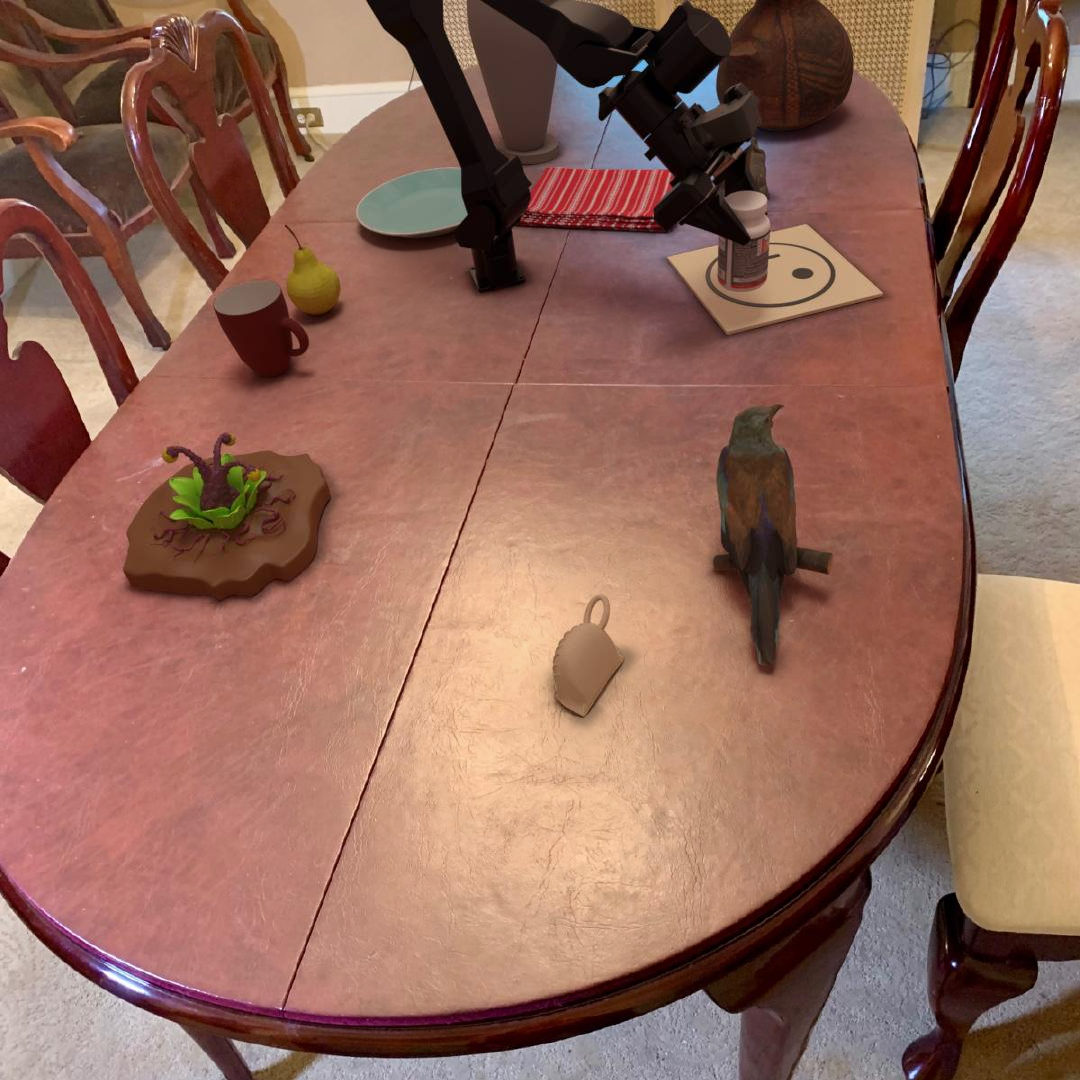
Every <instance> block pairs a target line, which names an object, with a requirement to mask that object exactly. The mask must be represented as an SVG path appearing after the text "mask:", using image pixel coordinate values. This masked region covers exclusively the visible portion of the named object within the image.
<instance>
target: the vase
mask: <svg viewBox="0 0 1080 1080" xmlns="http://www.w3.org/2000/svg"><path fill="white" fill-rule="evenodd" d="M466 19H467V27H468V33H469V38H470V40H471V45H472V48H473V50H474V54H475V57H476V60H477V63H478V66H479V69H480V70H479V71H480V72H481V76H482V80H483V84H484V86H485V89H486V93H487V96H488V100H489V103H490V106H491V109H492V113H493V115H494V118H495V121H496V124H497V126H498V129H499V132H500V135H501V138H499V140H498V141H497V149H498V150H499V151H500V152H501V153H502V154H503V155H505V156H506V157H507V158H508V159H511V158H512V157H514V156H518V157H519V159H520V160H521V163H522V165H537V164H542V163H547V162H549V161H551V160H554V158H556V157H557V156H558V155H559V141H558V139H557V138H556V137H555V136H553V135H552V134H549V133H548V129H549V128H548V127H549V123H550V115H551V110H552V103H553V97H554V96H553V95H554V90H555V83H556V77H557V72H558V71H557V70H558V65H559V64H558V63H557V62H556V60H555V59H554V57H553V55H552V53H551V52H550V50H549V48H548V47H547V46H546V45H545V44H544V43H543V42H542V41H541V40H540V39H539V38H537V37H536V36H534V35H533V34H531V33H530V32H528V31H526V30H525V29H523V28H522V27H520V26H519V25H517V24H516V23H514V22H513V21H511V20H509V19H508V18H506V17H505V16H503V15H502V14H500V13H499V12H497V11H496V10H494V9H492V8H491V7H489V6H488V5H486V4H485V3H483V2H482V1H480V0H466Z"/></svg>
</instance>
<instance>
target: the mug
mask: <svg viewBox="0 0 1080 1080" xmlns="http://www.w3.org/2000/svg"><path fill="white" fill-rule="evenodd" d="M212 306H213V310H214V312H215V316H216V318H217V320H218V323H219V325H220V327H221V329H222V331H223V333H224V334H225V336H226V337H227V339H228V341H229V342H230V344H231V346H232V347H233V349H234V350H235V352H236V354H237V355H238V357H239V358H240V360H241V361H242V362H243V363H244V364H245V365H246V366H247V367H248V368H249V369H251V370H252V371H253V372H254V373H255V374H257V375H259V376H260V377H263V378H273V377H278V376H281V375H282V374H284V373H285V372H286V371H288V369H289V368H290V364H291V360H292V358H295V357H296V358H297V357H300V356H302V355H304V354H305V353H306V352H307V351H308V350H309V347H310V339H309V336H308V333H307V332H306V330H305V328H304V327H303V326H302V325H301V324H300V323H299V322H298V321H297V320H295V319H293V318H291V317H290V313H289V308H288V304H287V302H286V299H285V295H284V293H283V290H282V287H281V286H280V285H279V284H278V283H277V282H275V281H272V280H270V279H269V280H268V279H253V280H246V281H243V282H240V283H236V284H233V285H232V286H230V287H227V288H226V289H224V290H222V291H221V292H220V293H219V294H218V295H217V296H216V297H215V298H214V301H213V305H212ZM293 335H294V336H295V337H296V339H297V342H298V345H299V348H294V342H293Z"/></svg>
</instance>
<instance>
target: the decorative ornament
mask: <svg viewBox="0 0 1080 1080" xmlns="http://www.w3.org/2000/svg"><path fill="white" fill-rule="evenodd" d="M599 601H601V602H602V605H603V611H602V615H601V618H600V621H599V623H593V622H591V621H592V620H591V618H592V612H593V609H594V608H595V605H596V604H597V603H598V602H599ZM583 614H584V615H583V620H582V621H583V622H581V623H579V624H578V625H576V624H575V625H574V626H572V627H571V628H570V630H567V631H566V632H564V634H563V637H562V638H560V640H558V644H557V647H556V648H555V651H554V655H553V658H552V663H553V665H552V673H553V680H554V682H555V683H556V684H555V686H554V691H555V692H556V694H555V697H556V699H557V700H558V701H559V702H560V703H561V704H562V705H563V707H565V708H567V710H570V711H572V712H573V713H575V714H577V715H578V716H581V717H583V718H585V716H586V715H587V714H588V712H589V711H590V709H591V708H592V706H593V704H594V703H595V702H596V700H597V698H598V696H599V695H600V693H601V692H602V690H603V688H604V687H605V686H606V684H607V682H608V681H609V680H610V678H611V677H612V676H613V674H614V673H615V672H616V670H617V669H618V668H619V667H620V666H621V665H622V663H623V662H624V661H625V657H624V655H622V654H621V653H620V652H618V650H617V648H616V645H615V644H614V641H613V639H612V638H611V637H610V635H609V634H608V633H607V631H606V630H605V629H606V627H607V626H608V623H609V620H610V615H611V603H610V600H609V598H608V597H607V595H605V594H603V593H599V594H596V595H594V596H593V597H591V598H590V600H589V601H588V603H587V605H586V607H585V610H584V613H583Z"/></svg>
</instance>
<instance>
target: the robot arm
mask: <svg viewBox="0 0 1080 1080" xmlns="http://www.w3.org/2000/svg"><path fill="white" fill-rule="evenodd" d="M365 1H366V3H367V5H368V7H369V8H370V10H371V12H372V13H373V15H374V16H375V18H376V20H377V21H378V23H379V25H380V26H381V27H382V29H383V31H385V32H386V33H388V34H389V35H390V36H391V37H392V38H393V39H395V40H396V41H397V42H398V43H399V44H400V45H402V46H403V47H404V49H405V50H406V52H407V54H408V56H409V58H410V61H411V63H412V64H413V68H415V72H416V73H417V75H418V78H419V81H420V82H421V84H422V86H423V89H424V91H425V93H426V95H427V97H428V99H429V102H430V104H431V107H432V108H433V110H434V113H435V114H436V117H437V119H438V121H439V123H440V125H441V128H442V130H443V132H444V134H445V136H446V138H447V140H448V143H449V145H450V147H451V149H452V152H453V154H454V156H455V158H456V161H457V162H458V164H459V165H458V166H459V168H461V196H462V199H463V202H464V205H465V208H466V212H467V216H466V217H465V218H464V219H463V221H462V222H461V223H460V224H459V225H458V227H457V228H456V229H455V230H454V231H452V233H453V234H452V235H453V236H454V238H455V241H456V242H457V245H458V246H459V247H460V248H464V249H470V250H471V256H472V257H471V258H472V262H473V266H471V267H469V275H470V276H471V278H472V281H473V282H474V285H475V287H476V289H477V291H478V292H479V293H484V292H489V291H493V290H497V289H500V288H506V287H509V286H510V287H511V286H513V285H518V284H522V283H525V282H526V276H525V274H524V273H523V271H522V269H521V267H520V265H519V263H518V261H517V255H516V248H515V247H516V246H515V240H514V232H513V229H514V228H515V227H516V226H517V225H516V224H517V223H519V222H520V221H521V218H522V214H523V213H524V212H525V211H526V210H527V208H528V206H529V203H530V200H531V193H530V192H531V190H530V188H531V186H532V185H533V184H532V182H531V181H530V180H529V178H528V176H527V174H526V173H525V171H524V167H523V164H522V163H521V160H520V159H519V157H518V156H514V157H512V158H511V159H508V158H507V157H506V156H505V155H503V154H502V153H501V152H500V151H499V149H498V147H496V145H495V142H494V141H493V138H492V135H491V133H490V130H489V128H488V127H487V124H486V122H485V120H484V117H483V115H482V113H481V110H480V108H479V106H478V104H477V101H476V99H475V96H474V94H473V92H472V90H471V87H470V85H469V82H468V80H467V78H466V75H465V74H464V71H463V69H462V67H461V65H460V62H459V59H458V58H457V55H456V53H455V51H454V49H453V46H452V43H451V42H450V39H449V37H448V35H447V33H446V30H445V22H444V21H445V20H444V0H365ZM480 1H482V2H483V3H485V4H486V5H488V6H489V7H491V8H492V9H494V10H496V11H497V12H499V13H500V14H502V15H503V16H505V17H506V18H508V19H509V20H511V21H513V22H514V23H516V24H517V25H519V26H520V27H522V28H523V29H525V30H526V31H528V32H530V33H531V34H533V35H534V36H536V37H537V38H539V39H540V40H541V41H542V42H543V43H544V44H545V45H546V46H547V47H548V48H549V50H550V52H551V53H552V55H553V57H554V59H555V60H556V62H557V63H558V64H557V65H558V66H559V67H561V68H562V69H563V70H564V71H565V72H566V73H567V74H568V75H569V76H571V77H572V78H573V79H574V80H575V81H576V82H577V83H578V84H580V85H581V86H583V87H586V88H588V89H596V88H599V87H603V86H605V85H606V84H607V83H609V82H610V81H611V80H613V79H614V78H616V77H621V76H623V77H622V78H621V79H620V80H619V82H617V84H615V86H606V87H605V88H602V90H601V91H600V92H599V93H598V94H597V97H598V104H599V105H598V113H597V114H598V115H597V118H598V120H599V121H600V122H602V121H603V122H604V121H605V120H606V119H607V118H608V117H609V116H610V115H611V114H612V113H613V112H615V111H616V112H617V113H618V114H619V115H620V116H621V118H622V119H623V120H624V121H625V122H626V123H627V125H628V126H629V127H630V128H631V129H632V130H633V131H634V132H635V134H636V135H637V136H638V138H640V140H641V141H643V143H644V145H646V146H647V147H648V149H647V150H646V151H645V153H643V155H644V156H645V158H646V159H647V160H648V161H649V162H652V160H654V159H655V157H656V158H657V159H658V160H659V162H661V164H662V165H663V166H664V167H665V169H666V170H669V172H670V173H671V174H672V175H673V176H674V178H673V179H672V180H671V181H670V182H669V184H670V185H671V186H672V187H673V188H672V189H671V190H670V191H669V192H667V193H666V194H665V195H664V197H663V198H662V199H661V200H660V201H659V202H658V204H657V205H656V206H655V207H654V221H655V222H656V223H657V224H658V225H659V226H660V227H661V229H662V230H663V231H664V232H663V233H667V232H669V231H671V229H672V228H673V227H674V226H675V225H677V224H678V225H679V226H684V225H687V226H690V227H693V228H697V229H698V230H699V229H700V230H701V231H706V232H708V233H712V234H714V235H716V236H718V237H719V236H721V237H723V238H726V239H728V240H731V241H733V242H736V243H738V244H741V245H746V244H747V243H748V242H750V240H751V237H750V236H749V234H748V232H747V231H746V229H745V227H744V226H743V224H742V223H741V222H740V220H739V219H738V217H737V216H736V214H735V213H734V212H733V210H732V209H731V207H730V206H729V204H728V203H727V202H726V200H725V198H726V197H727V196H728V195H730V194H732V193H735V192H738V191H755V192H759V191H758V189H757V186H756V184H755V181H754V179H753V176H752V173H751V170H750V158H751V152H752V149H753V144H751V143H750V144H749V145H748V146H746V148H745V149H742V147H741V146H743V145H744V144H745V143H749V142H750V141H751V139H752V138H753V137H755V135H756V134H757V133H758V131H759V129H758V127H757V126H759V125H761V123H762V121H761V118H760V115H759V113H758V110H757V106H758V105H759V103H760V99H759V97H757V96H755V95H754V93H753V91H750V90H749V89H748V88H747V87H746V86H745V85H744V84H742V83H739V84H736V85H734V86H732V87H730V88H729V89H728V90H727V91H726V92H725V94H724V104H722V103H721V104H720V103H719V104H717V106H716V107H714V108H712V109H710V110H707V111H706V110H705V109H704V107H703V106H702V105H701V104H700V103H696V102H694V103H693V104H692V105H690V106H688V105H687V104H686V103H685V101H684V100H683V99H682V98H681V97H680V96H679V94H678V93H680V94H683V95H689V94H691V93H693V91H694V90H696V88H698V87H699V86H700V84H701V83H703V81H704V80H706V78H707V77H709V75H710V74H712V72H713V71H715V69H716V68H717V67H719V64H720V63H721V62H722V61H723V60H724V59H725V58H726V57H727V56H728V55H729V54H730V52H731V40H730V38H729V37H730V35H729V33H728V31H727V28H726V27H725V26H724V25H723V23H722V22H721V21H720V19H718V17H716V16H712V14H710V13H709V12H707V11H706V10H704V9H702V8H699V7H694V5H693V4H692V3H691V2H690V1H689V0H683V1H682V2H681V3H680V4H678V6H677V7H676V8H675V9H674V10H673V11H672V12H671V14H670V15H669V17H668V19H667V21H666V22H665V23H664V24H663V25H662V27H660V28H659V29H657V28H655V27H654V28H653V27H649V26H644V25H639V24H635V23H632V22H631V21H630V20H629V18H627V17H626V16H625V15H623V14H621V13H619V12H616V11H615V10H612V9H610V8H606V7H605V6H602V5H600V4H597V3H593V2H586V1H580V0H480ZM642 62H645V63H646V64H647V65H646V66H645V68H643V70H641V71H640V70H635V68H636V67H638V65H639V64H640V63H642ZM768 214H769V213H768V210H767V211H766V213H765V215H766V216H767V217H768Z"/></svg>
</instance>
